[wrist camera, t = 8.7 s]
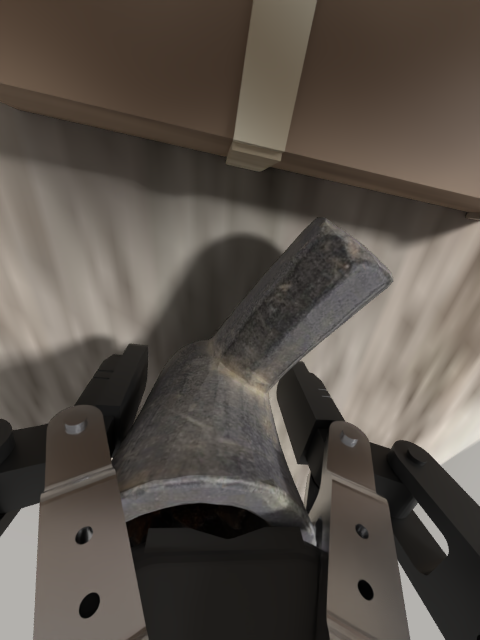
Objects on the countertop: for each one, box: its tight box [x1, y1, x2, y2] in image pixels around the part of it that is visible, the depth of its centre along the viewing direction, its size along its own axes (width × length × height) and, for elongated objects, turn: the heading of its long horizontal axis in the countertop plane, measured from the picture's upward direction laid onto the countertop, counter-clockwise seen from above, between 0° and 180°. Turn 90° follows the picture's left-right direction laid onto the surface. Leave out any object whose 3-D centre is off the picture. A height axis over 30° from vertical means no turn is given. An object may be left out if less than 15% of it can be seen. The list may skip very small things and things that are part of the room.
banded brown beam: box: [0, 0, 480, 221], centre depth 8 cm, size 4×20×4 cm, turn 80°
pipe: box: [111, 217, 393, 548], centre depth 9 cm, size 6×13×8 cm, turn 142°
